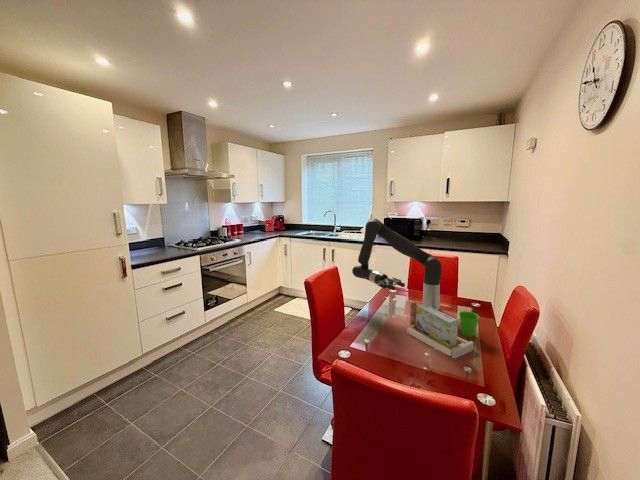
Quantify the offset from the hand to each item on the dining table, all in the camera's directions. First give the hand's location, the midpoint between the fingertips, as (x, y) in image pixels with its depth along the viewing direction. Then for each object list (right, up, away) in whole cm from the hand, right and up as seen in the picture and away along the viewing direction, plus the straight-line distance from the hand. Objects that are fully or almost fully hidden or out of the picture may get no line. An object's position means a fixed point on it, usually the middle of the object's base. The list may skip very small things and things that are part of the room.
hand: (399, 286), depth 149 cm
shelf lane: (+13, -23, -19) cm, 33 cm away
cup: (+30, -22, -14) cm, 40 cm away
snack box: (+12, -23, -18) cm, 32 cm away
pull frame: (+12, -23, -16) cm, 30 cm away
